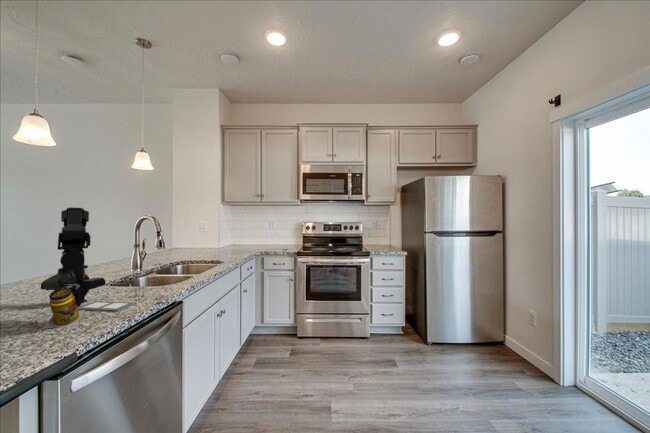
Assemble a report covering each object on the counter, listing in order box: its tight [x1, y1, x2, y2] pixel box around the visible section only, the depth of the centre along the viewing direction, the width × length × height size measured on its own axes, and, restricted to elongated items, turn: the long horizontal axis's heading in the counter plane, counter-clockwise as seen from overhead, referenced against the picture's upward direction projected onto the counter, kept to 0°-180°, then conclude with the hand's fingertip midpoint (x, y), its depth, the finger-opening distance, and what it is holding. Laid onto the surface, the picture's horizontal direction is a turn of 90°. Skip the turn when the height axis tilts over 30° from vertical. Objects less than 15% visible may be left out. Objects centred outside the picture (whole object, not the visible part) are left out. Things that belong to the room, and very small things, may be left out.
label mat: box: [78, 300, 136, 313], centre depth 107 cm, size 18×9×1 cm, turn 87°
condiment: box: [42, 288, 86, 330], centre depth 88 cm, size 7×8×12 cm
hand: (74, 307), depth 92 cm, fingers closed
